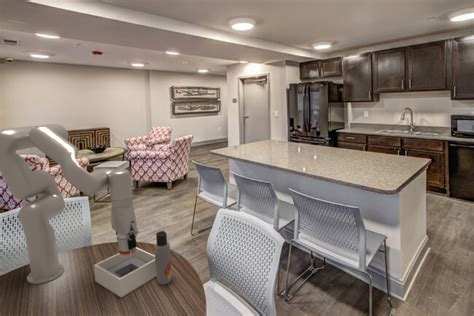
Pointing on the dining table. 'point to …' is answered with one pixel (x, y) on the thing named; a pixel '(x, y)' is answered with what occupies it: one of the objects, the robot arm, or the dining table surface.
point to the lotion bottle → (163, 258)
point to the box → (125, 271)
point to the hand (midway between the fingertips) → (127, 245)
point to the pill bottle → (124, 245)
